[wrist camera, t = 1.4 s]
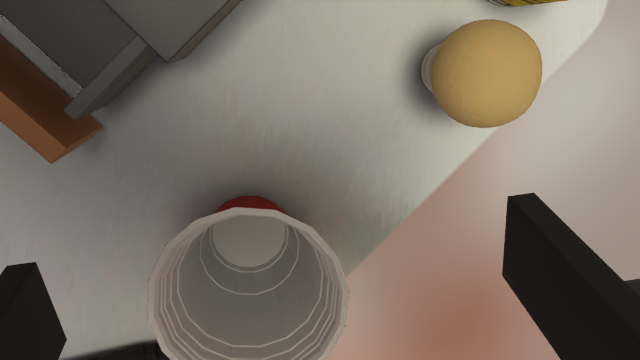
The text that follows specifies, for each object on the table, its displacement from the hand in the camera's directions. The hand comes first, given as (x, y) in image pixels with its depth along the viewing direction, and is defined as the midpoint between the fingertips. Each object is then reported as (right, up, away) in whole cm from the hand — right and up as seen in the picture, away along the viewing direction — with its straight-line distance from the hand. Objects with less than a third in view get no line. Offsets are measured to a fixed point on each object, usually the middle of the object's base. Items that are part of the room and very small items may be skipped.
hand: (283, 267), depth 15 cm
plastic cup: (-5, -1, +25) cm, 25 cm away
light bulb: (+10, +11, +24) cm, 28 cm away
